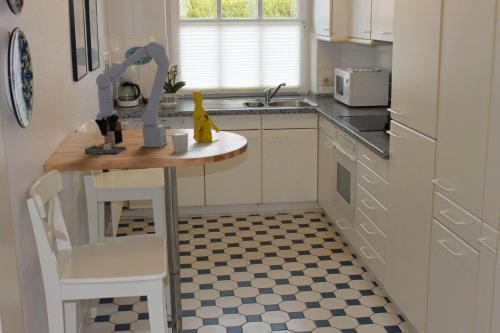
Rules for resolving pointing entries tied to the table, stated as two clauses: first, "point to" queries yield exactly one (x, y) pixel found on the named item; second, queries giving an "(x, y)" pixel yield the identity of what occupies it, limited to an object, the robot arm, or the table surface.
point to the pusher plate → (107, 146)
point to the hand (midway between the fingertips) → (108, 134)
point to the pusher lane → (100, 149)
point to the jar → (109, 138)
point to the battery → (117, 132)
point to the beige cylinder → (180, 142)
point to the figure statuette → (202, 121)
